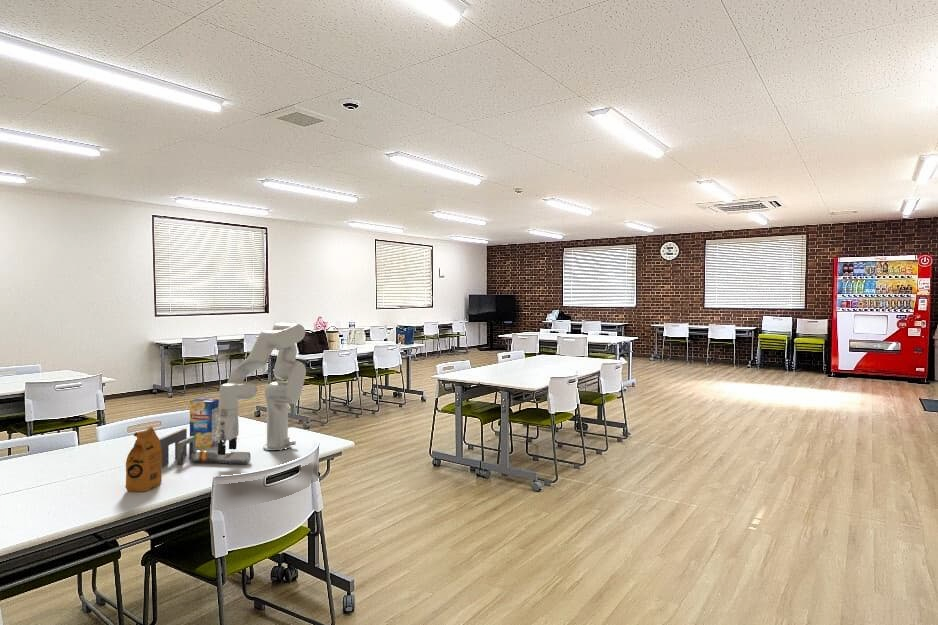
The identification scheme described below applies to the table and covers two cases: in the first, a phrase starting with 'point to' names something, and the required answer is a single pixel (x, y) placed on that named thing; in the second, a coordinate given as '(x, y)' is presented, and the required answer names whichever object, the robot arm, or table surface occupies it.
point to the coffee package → (144, 462)
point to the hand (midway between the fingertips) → (227, 451)
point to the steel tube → (220, 457)
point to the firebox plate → (171, 439)
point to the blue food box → (204, 421)
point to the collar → (180, 448)
